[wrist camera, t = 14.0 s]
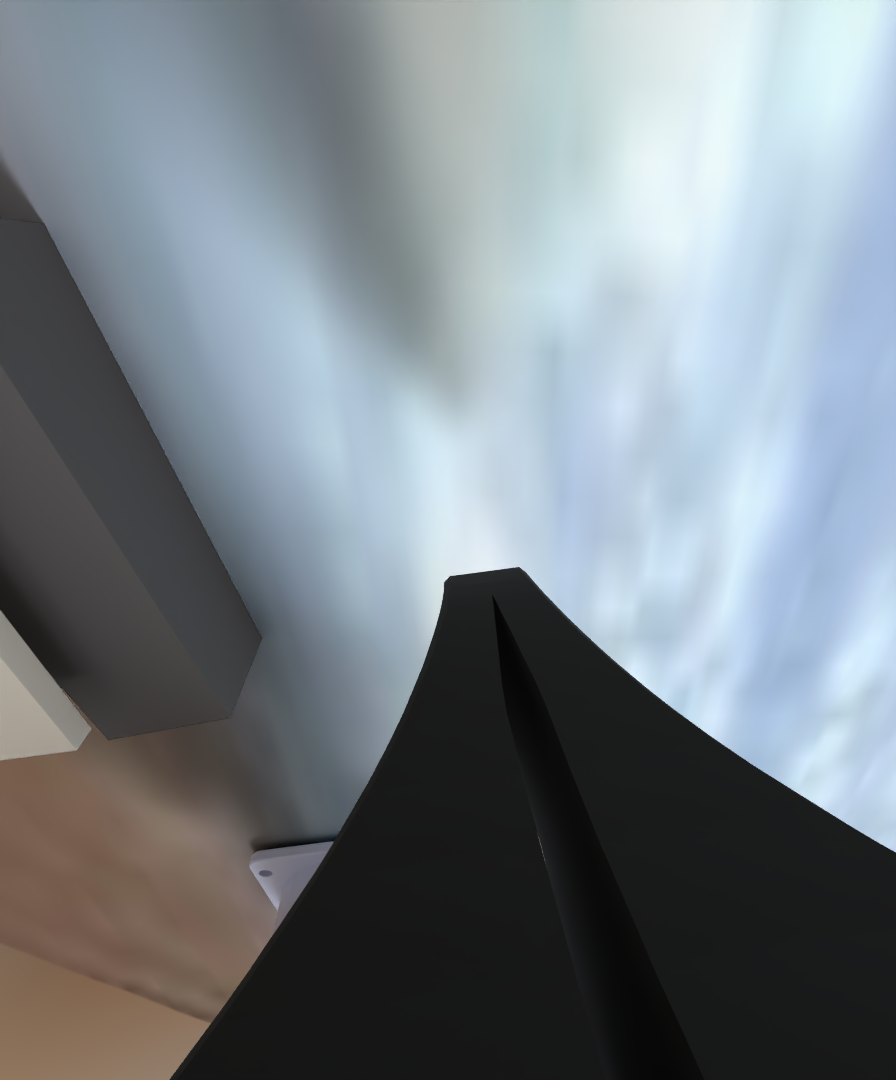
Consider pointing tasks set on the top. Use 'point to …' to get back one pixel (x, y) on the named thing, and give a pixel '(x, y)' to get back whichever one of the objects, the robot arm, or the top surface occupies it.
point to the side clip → (33, 704)
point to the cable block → (102, 521)
